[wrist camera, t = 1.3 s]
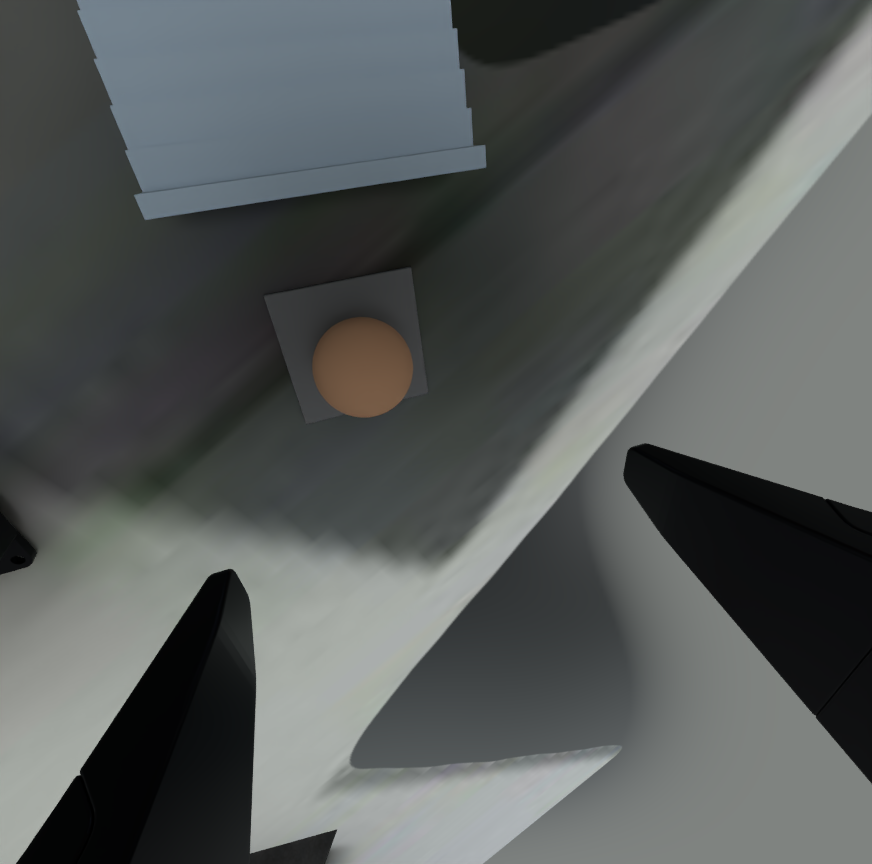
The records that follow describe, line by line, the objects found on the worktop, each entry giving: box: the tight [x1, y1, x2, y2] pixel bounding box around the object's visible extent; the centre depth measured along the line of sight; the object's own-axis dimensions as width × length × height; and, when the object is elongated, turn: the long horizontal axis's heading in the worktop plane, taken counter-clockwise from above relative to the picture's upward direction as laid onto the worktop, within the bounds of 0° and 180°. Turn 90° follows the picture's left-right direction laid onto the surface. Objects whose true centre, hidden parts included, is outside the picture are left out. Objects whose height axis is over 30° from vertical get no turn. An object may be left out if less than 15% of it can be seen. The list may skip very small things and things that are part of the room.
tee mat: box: [264, 267, 428, 424], centre depth 19 cm, size 6×6×1 cm
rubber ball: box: [312, 317, 413, 418], centre depth 18 cm, size 4×4×4 cm
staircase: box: [77, 0, 486, 220], centre depth 12 cm, size 10×8×4 cm
